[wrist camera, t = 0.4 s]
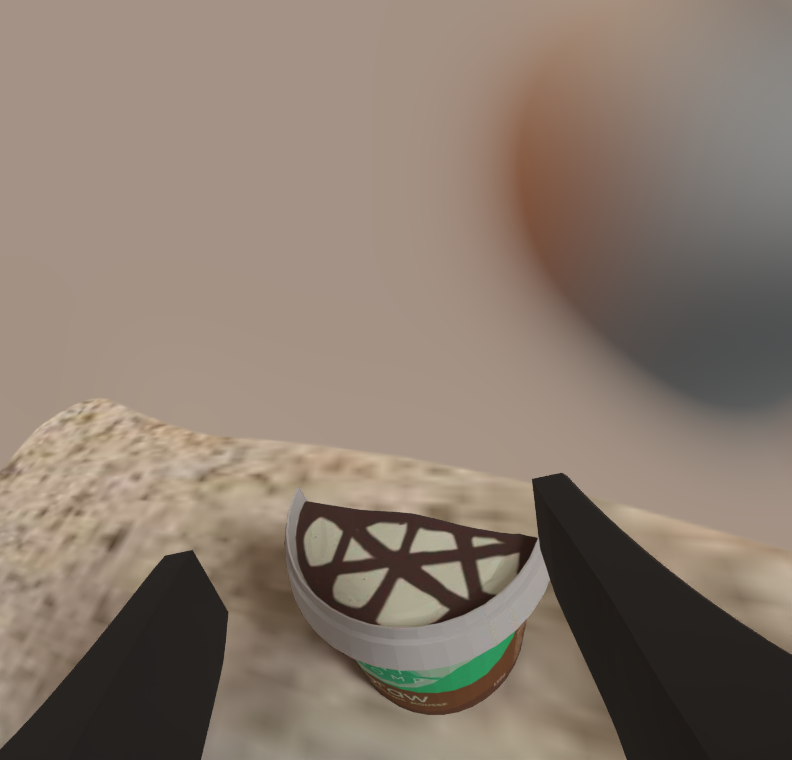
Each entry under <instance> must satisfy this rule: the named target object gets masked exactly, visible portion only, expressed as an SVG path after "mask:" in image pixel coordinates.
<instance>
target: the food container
mask: <svg viewBox="0 0 792 760" xmlns="http://www.w3.org/2000/svg"><path fill="white" fill-rule="evenodd" d="M284 544H285V555H286V564H287V570H288V576H289V582H290V585H291V589H292V592H293V595H294V599H295V601H296V603H297V605H298V607H299V609H300V611H301V613H302V615H303V617H304V618H305V619H306V620H307V622H308V623H309V624H310V626H311V627H312V628H313V629H314V631H315V632H316V633H317V634H318V635H319V636H320V637H322V638H323V639H324V640H325V641H326V642H327V643H329V644H330V645H331V646H332V647H333V648H335V649H337V650H339V651H340V652H342V653H344V654H346V655H347V656H349V657H351V658H353V659H355V660H356V662H357V663H358V665H359V666H360V667H361V669H362V670H363V671H364V673H365V674H366V675H367V677H368V678H369V679H370V681H371V682H372V683H373V685H374V686H375V687H376V688H377V690H378V691H379V692H380V694H381V695H383V696H384V697H386V698H387V699H389V700H390V701H392V702H393V703H395V704H396V705H398V706H399V707H402V708H404V709H407V710H409V711H412V712H416V713H421V714H427V715H445V714H450V713H455V712H460V711H462V710H465V709H467V708H470V707H473V706H474V705H476V704H478V703H479V702H481V701H483V700H484V699H486V698H487V697H488V696H490V695H491V694H492V693H493V692H494V691H495V690H497V689H498V688H499V686H500V685H501V684H502V683H503V682H504V680H505V679H506V678H507V677H508V675H509V673H510V672H511V670H512V668H513V667H514V665H515V663H516V660H517V658H518V655H519V652H520V650H521V645H522V640H523V635H524V630H525V625H526V620H527V618H528V617H529V615H530V614H531V613H532V612H533V611H534V609H535V607H536V606H537V604H538V603H539V601H540V599H541V598H542V596H543V595H544V593H545V591H546V588H547V586H548V583H549V580H550V577H549V575H548V572H547V568H546V565H545V562H544V559H543V556H542V553H541V550H540V544H539V536H538V538H536V537H530V536H525V535H522V534H508V533H499V532H493V531H487V530H482V529H476V528H471V527H466V526H462V525H457V524H454V523H450V522H446V521H442V520H438V519H434V518H430V517H425V516H421V515H417V514H411V513H400V512H385V511H368V510H358V509H351V508H345V507H338V506H332V505H326V504H320V503H314V502H308V501H307V499H306V498H305V496H304V494H303V492H302V491H301V489H300V487H297V489H296V492H295V494H294V496H293V499H292V501H291V505H290V509H289V513H288V516H287V524H286V531H285V542H284Z"/></svg>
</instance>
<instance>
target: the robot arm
mask: <svg viewBox="0 0 792 760" xmlns="http://www.w3.org/2000/svg"><path fill="white" fill-rule="evenodd" d="M532 483H533V492H534V501H535V509H536V518H537V527H538V535H539V544H540V550H541V553H542V556H543V559H544V562H545V565H546V568H547V572H548V575H549V577H550V580H551V583H552V586H553V589H554V592H555V595H556V597H557V600H558V602H559V604H560V606H561V609H562V611H563V613H564V615H565V617H566V620H567V622H568V624H569V626H570V628H571V631H572V633H573V635H574V637H575V639H576V641H577V644H578V646H579V648H580V650H581V652H582V654H583V657H584V659H585V661H586V663H587V665H588V667H589V670H590V672H591V674H592V676H593V678H594V681H595V683H596V685H597V687H598V689H599V691H600V694H601V696H602V698H603V700H604V702H605V704H606V707H607V709H608V712H609V714H610V716H611V719H612V721H613V724H614V726H615V728H616V731H617V734H618V736H619V739H620V742H621V745H622V747H623V750H624V753H625V756H626V758H627V760H792V655H791V654H790V653H788V652H786V651H784V650H783V649H781V648H779V647H778V646H776V645H775V644H773V643H771V642H770V641H768V640H767V639H765V638H764V637H762V636H761V635H759V634H758V633H756V632H755V631H753V630H752V629H750V628H749V627H747V626H745V625H744V624H742V623H741V622H739V621H738V620H736V619H735V618H734V617H732V616H731V615H729V614H728V613H726V612H725V611H723V610H722V609H721V608H719V607H718V606H716V605H715V604H713V603H712V602H711V601H709V600H708V599H707V598H705V597H704V596H702V595H701V594H700V593H698V592H697V591H696V590H694V589H693V588H692V587H690V586H689V585H688V584H686V583H685V582H684V581H682V580H681V579H680V578H679V577H677V576H676V575H675V574H674V573H672V572H671V571H670V570H669V569H667V568H666V567H665V566H663V565H662V564H661V563H660V562H659V561H657V560H656V559H655V558H654V557H653V556H651V555H650V554H649V553H648V552H646V551H645V550H644V549H643V548H642V547H641V546H640V545H638V544H637V543H636V542H635V541H634V540H633V539H632V538H630V537H629V536H628V535H627V534H626V533H625V532H624V531H622V530H621V529H620V528H619V527H618V526H617V525H616V524H615V523H614V522H613V521H611V520H610V519H609V518H608V517H607V516H606V515H605V514H604V513H603V512H602V511H601V510H600V509H599V508H598V507H597V506H596V505H595V504H594V503H593V502H592V501H591V500H590V499H589V498H588V497H587V496H586V495H585V494H584V493H583V492H582V491H581V490H580V489H579V488H578V487H577V486H576V485H575V484H574V483H573V482H572V481H571V480H570V478H568V476H566V475H564V474H563V473H559V474H554V475H549V476H545V477H539V478H535V479H532ZM227 621H228V611H227V609H226V607H225V606H224V604H223V602H222V600H221V599H220V597H219V595H218V593H217V592H216V590H215V588H214V587H213V585H212V583H211V581H210V580H209V578H208V576H207V574H206V573H205V571H204V569H203V567H202V566H201V564H200V562H199V560H198V559H197V557H196V555H195V553H194V552H193V550H191V551H186V552H181V553H176V554H172V555H167V556H164V558H163V559H162V560H161V561H160V562H159V563H158V565H157V566H156V567H155V568H154V569H153V571H152V572H151V573H150V574H149V576H148V577H147V578H146V579H145V581H144V582H143V583H142V584H141V586H140V587H139V588H138V590H137V591H136V592H135V593H134V595H133V596H132V597H131V598H130V600H129V601H128V602H127V604H126V605H125V606H124V607H123V609H122V610H121V611H120V612H119V614H118V615H117V616H116V617H115V619H114V620H113V621H112V622H111V624H110V625H109V626H108V627H107V629H106V630H105V631H104V632H103V634H102V635H101V636H100V637H99V639H98V640H97V641H96V642H95V644H94V645H93V646H92V647H91V649H90V650H89V651H88V652H87V653H86V655H85V656H84V657H83V658H82V659H81V660H80V662H79V663H78V664H77V665H76V666H75V667H74V669H73V670H72V671H71V672H70V673H69V674H68V676H67V677H66V678H65V679H64V680H63V681H62V683H61V684H60V685H59V686H58V687H57V688H56V690H55V691H54V692H53V693H52V694H51V695H50V697H49V698H48V699H47V700H46V701H45V702H44V704H43V705H42V706H41V707H40V708H39V709H38V710H37V711H36V712H35V713H34V715H33V716H32V717H31V718H30V719H29V720H28V721H27V722H26V723H25V724H24V725H23V726H22V728H21V729H20V730H19V731H18V732H17V733H16V734H15V735H14V736H13V737H12V738H11V739H10V740H9V741H8V742H7V743H6V744H5V745H4V746H3V747H2V748H1V749H0V760H201V757H202V753H203V748H204V744H205V740H206V736H207V731H208V727H209V723H210V719H211V714H212V710H213V706H214V701H215V697H216V693H217V688H218V684H219V679H220V675H221V670H222V665H223V659H224V651H225V643H226V633H227Z"/></svg>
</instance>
